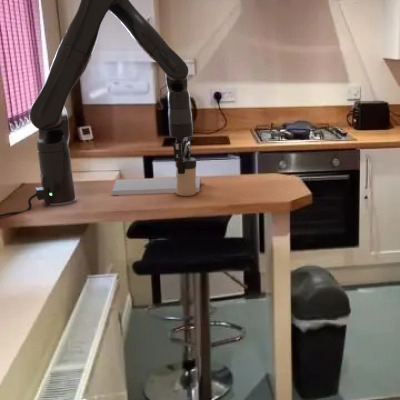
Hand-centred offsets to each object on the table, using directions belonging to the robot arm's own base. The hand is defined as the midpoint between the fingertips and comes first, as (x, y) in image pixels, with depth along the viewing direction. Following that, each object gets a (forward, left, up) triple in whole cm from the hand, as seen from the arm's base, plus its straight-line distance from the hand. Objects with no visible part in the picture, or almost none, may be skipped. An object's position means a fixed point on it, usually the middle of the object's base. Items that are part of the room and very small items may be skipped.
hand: (184, 171), depth 199 cm
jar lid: (+1, 0, +4) cm, 4 cm away
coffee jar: (0, 0, -8) cm, 8 cm away
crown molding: (-6, +12, -8) cm, 16 cm away
